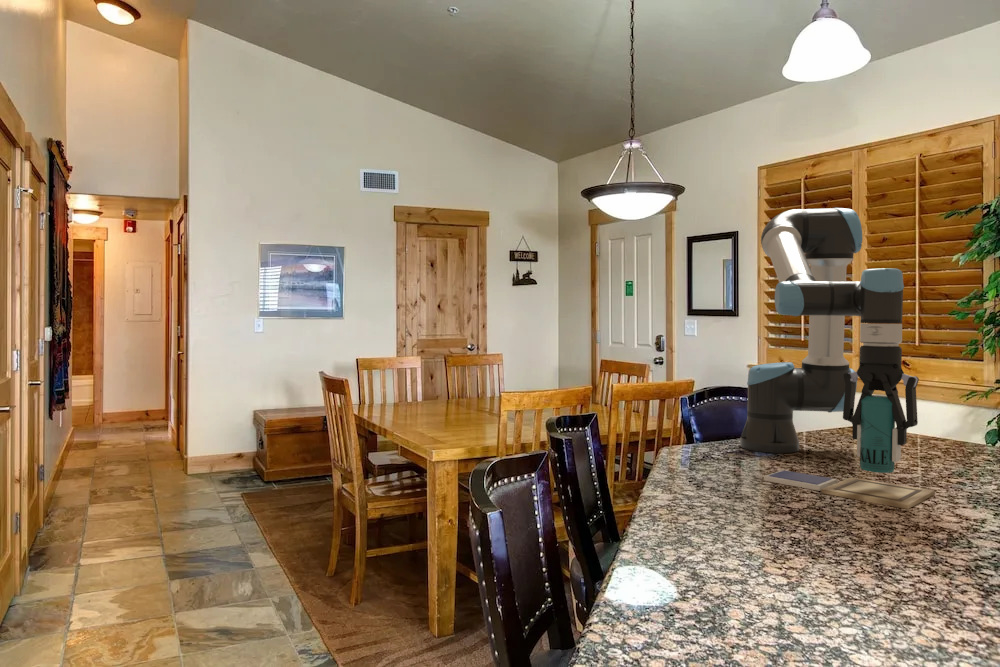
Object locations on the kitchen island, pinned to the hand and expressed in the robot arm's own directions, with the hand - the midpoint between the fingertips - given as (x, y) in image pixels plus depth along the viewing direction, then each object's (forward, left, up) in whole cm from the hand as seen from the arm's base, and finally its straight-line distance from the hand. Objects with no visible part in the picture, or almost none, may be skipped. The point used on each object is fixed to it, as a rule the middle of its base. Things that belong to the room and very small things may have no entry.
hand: (878, 458), depth 143 cm
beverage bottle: (0, 0, -4) cm, 4 cm away
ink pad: (-15, -2, -7) cm, 17 cm away
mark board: (0, 0, -7) cm, 7 cm away
